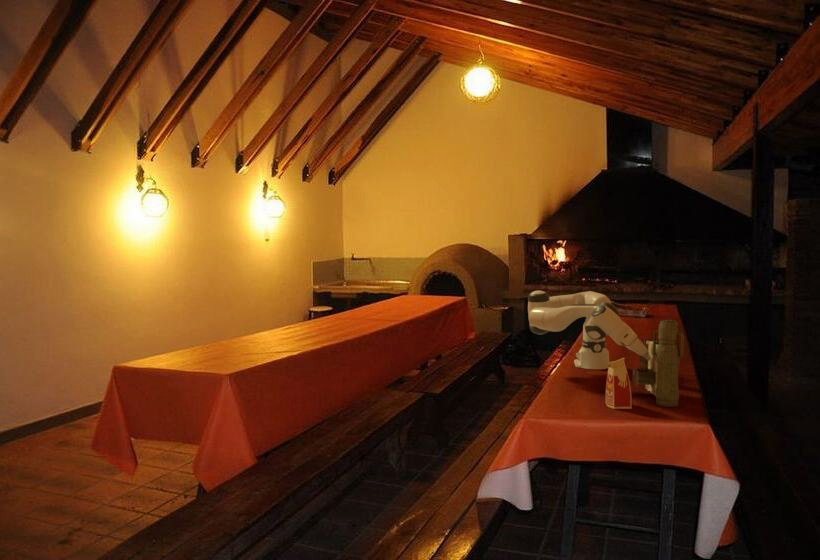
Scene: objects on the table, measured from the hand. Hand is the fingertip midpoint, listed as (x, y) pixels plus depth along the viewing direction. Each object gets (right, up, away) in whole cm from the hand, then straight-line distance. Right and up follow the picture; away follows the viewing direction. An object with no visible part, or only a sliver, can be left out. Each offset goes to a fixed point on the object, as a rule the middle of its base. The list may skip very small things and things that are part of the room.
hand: (645, 357), depth 280 cm
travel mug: (+10, -15, +19) cm, 27 cm away
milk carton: (-17, -18, -16) cm, 30 cm away
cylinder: (-1, -10, +1) cm, 10 cm away
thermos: (+4, -18, -14) cm, 23 cm away
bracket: (0, -16, +1) cm, 16 cm away
